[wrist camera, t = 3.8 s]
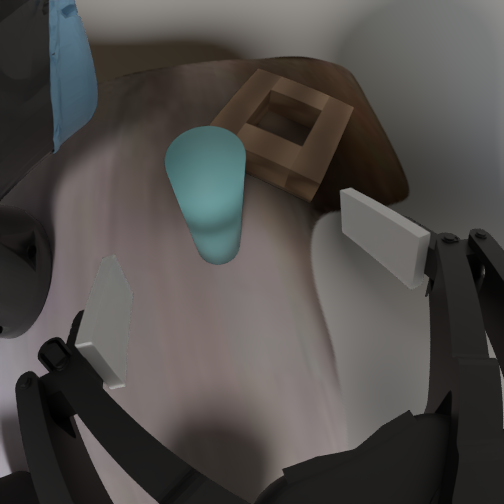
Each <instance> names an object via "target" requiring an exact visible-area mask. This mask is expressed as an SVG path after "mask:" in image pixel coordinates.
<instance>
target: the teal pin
mask: <svg viewBox="0 0 504 504" xmlns="http://www.w3.org/2000/svg"><path fill="white" fill-rule="evenodd" d="M245 161H246V153H245V148H244V146H243V144H242V142H241V140H240V139H239V138H238V137H237V136H236V135H235V134H233V133H232V132H230V131H228V130H226V129H224V128H221V127H216V126H201V127H196V128H193V129H190V130H188V131H186V132H184V133H182V134H181V135H179V136H178V137H177V138H176V139H175V140H174V141H173V142H172V143H171V144H170V146H169V147H168V149H167V152H166V155H165V169H166V172H167V175H168V177H169V180H170V183H171V185H172V188H173V190H174V193H175V195H176V198H177V201H178V203H179V206H180V208H181V211H182V213H183V216H184V218H185V221H186V223H187V226H188V228H189V230H190V233H191V235H192V238H193V240H194V242H195V245H196V247H197V250H198V252H199V254H200V256H201V257H202V258H203V259H204V260H205V261H207V262H209V263H211V264H216V265H220V264H225V263H228V262H229V261H231V260H232V259H233V258H234V257H235V256H236V255H237V253H238V251H239V247H240V234H241V219H242V204H243V189H244V175H245Z"/></svg>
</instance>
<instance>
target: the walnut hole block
mask: <svg viewBox="0 0 504 504" xmlns="http://www.w3.org/2000/svg"><path fill="white" fill-rule="evenodd" d="M353 109H354V107H352V106H350V105H348V104H346V103H344V102H341V101H339V100H337V99H335V98H333V97H331V96H328V95H326V94H324V93H322V92H319V91H317V90H315V89H312V88H310V87H308V86H305V85H303V84H300V83H298V82H295V81H293V80H290V79H287V78H285V77H282V76H279V75H276V74H273V73H271V72H268V71H265V70H262V69H259V68H258V69H257V70H256V72H255V73H254V74H253V75H252V76H251V77H250V78H249V79H248V80H247V81H246V82H245V84H244V85H243V86H242V87H241V88H240V89H239V90H238V91H237V92H236V94H235V95H234V96H233V97H232V98H231V99H230V101H229V102H228V103H227V104H226V105H225V106H224V108H223V109H222V110H221V111H220V112H219V114H218V115H217V116H216V117H215V118H214V120H213V121H212V122H211V123H210V125H209V126H216V127H221V128H224V129H226V130H228V131H230V132H232V133H233V134H235V135H236V136H237V137H238V138H239V139H240V140H241V142H242V144H243V146H244V148H245V153H246V161H245V173H247V174H250V175H252V176H254V177H256V178H258V179H261V180H263V181H265V182H267V183H269V184H271V185H273V186H275V187H278V188H280V189H282V190H284V191H286V192H288V193H290V194H292V195H294V196H296V197H298V198H300V199H302V200H304V201H306V202H308V203H310V202H311V200H312V199H313V197H314V195H315V193H316V191H317V189H318V188H319V186H320V184H321V182H322V180H323V177H324V175H325V173H326V171H327V168H328V166H329V164H330V162H331V159H332V157H333V155H334V153H335V150H336V148H337V146H338V144H339V141H340V139H341V137H342V134H343V132H344V130H345V127H346V125H347V123H348V120H349V118H350V116H351V113H352V111H353Z"/></svg>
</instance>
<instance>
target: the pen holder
mask: <svg viewBox="0 0 504 504" xmlns="http://www.w3.org/2000/svg"><path fill="white" fill-rule="evenodd" d="M0 504H40V502H39V499H38V496H37V493H36V490H35V487H34V484H33V481H32V477H31V474H30V473H27V472H24V471H18V472H15V473H12V474H10V475H7V476H4V477H2V478H0Z"/></svg>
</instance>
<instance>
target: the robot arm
mask: <svg viewBox="0 0 504 504" xmlns="http://www.w3.org/2000/svg"><path fill="white" fill-rule="evenodd" d="M77 13H78V11H77V8H76V4H75V0H0V201H1V200H2V199H3V198H4V196H5V195H6V194H7V193H8V192H9V191H10V190H11V189H12V188H13V187H14V186H15V185H16V184H17V183H18V182H19V181H20V180H21V179H22V178H23V177H24V176H25V175H27V174H28V173H29V172H30V171H31V170H32V169H33V168H34V167H35V166H36V165H37V164H39V163H40V162H41V161H42V160H43V159H44V158H45V157H47V156H48V155H49V154H50V153H51V152H52V153H53V154H54V153H56V152H57V151H58V150H59V148H60V145H61V144H62V143H64V142H65V141H66V140H67V139H68V138H69V137H71V136H72V135H73V134H74V133H75V132H77V131H78V130H79V129H80V128H82V127H83V126H84V125H85V124H87V123H88V122H89V120H90V119H91V118H92V116H93V114H94V112H95V110H96V107H97V101H98V87H97V80H96V74H95V69H94V64H93V59H92V56H91V51H90V47H89V44H88V40H87V36H86V32H85V29H84V26H83V23H82V20H81V17H80V16H78V15H77ZM340 198H341V217H342V232H343V233H344V234H345V235H347V236H348V237H349V238H351V239H352V240H353V241H354V242H355V243H357V244H358V245H359V246H360V247H362V248H363V249H364V250H365V251H366V252H368V253H369V254H370V255H372V256H373V257H374V258H375V259H376V260H377V261H378V262H380V263H381V264H382V265H383V266H384V267H385V268H387V269H388V270H389V271H390V272H391V273H392V274H394V275H395V276H396V277H397V278H398V279H399V280H401V281H402V282H403V283H404V284H405V285H406V286H407V287H409V289H411V290H412V289H414V288H416V287H418V286H420V285H421V284H422V282H423V277H424V274H426V275H427V276H428V277H429V281H428V286H427V290H426V295H425V297H427V296H428V293H429V307H430V338H431V339H430V340H431V341H430V376H429V392H428V401H427V406H426V409H425V412H424V414H419V415H415V416H413V415H412V413H411V412H410V410H408V411H407V412H405V413H403V414H402V415H400V416H398V417H397V418H395V419H393V420H392V421H390V422H388V423H386V424H384V425H383V426H381V427H380V428H379V429H378V430H377V431H376V432H375V433H374V434H373V435H372V436H370V437H369V438H368V439H367V440H366V441H364V442H363V443H362V444H361V445H359V446H358V447H357V448H355V449H353V450H349V451H344V452H340V453H335V454H329V455H324V456H318V457H315V458H312V459H309V460H307V461H304V462H301V463H299V464H296V465H293V466H290V467H287V468H284V469H282V470H283V473H284V475H285V476H282V477H280V478H279V479H277V480H276V481H274V482H273V483H272V484H270V485H269V486H268V487H267V488H266V489H265V490H264V491H263V492H262V493H261V494H260V496H259V497H258V498H257V500H256V501H255V503H254V504H504V429H503V401H502V387H501V377H500V368H501V371H502V374H503V377H504V250H503V249H502V248H501V247H500V245H499V244H498V243H497V242H496V241H495V239H494V238H493V237H492V236H491V235H490V234H489V233H488V232H486V231H484V230H483V229H482V230H481V229H472V230H470V233H469V238H468V239H464V240H460V238H459V237H457V236H456V235H453V234H451V233H440V234H436V233H434V232H433V231H431V230H429V229H428V228H426V227H424V226H423V225H421V224H419V223H418V222H416V221H414V220H413V219H411V218H409V217H407V216H403V215H400V214H398V213H396V212H395V211H393V210H391V209H389V208H388V207H386V206H384V205H382V204H380V203H379V202H377V201H375V200H373V199H371V198H369V197H367V196H366V195H364V194H362V193H360V192H358V191H356V190H354V189H352V188H348V189H343V190H340ZM484 268H485V275H484V274H483V272H484ZM50 277H51V252H50V246H49V241H48V238H47V235H46V233H45V230H44V229H43V227H42V225H41V224H40V223H39V222H38V221H37V220H36V219H35V218H34V217H32V216H31V215H30V214H28V213H27V212H25V211H24V210H22V209H19V208H16V207H10V206H4V205H0V338H7V339H10V338H15V337H18V336H20V335H22V334H23V333H25V332H26V331H27V330H28V329H29V328H30V327H31V326H32V325H33V324H34V322H35V321H36V319H37V318H38V316H39V314H40V312H41V310H42V308H43V305H44V303H45V300H46V297H47V293H48V289H49V284H50ZM132 302H133V292H132V290H131V288H130V286H129V284H128V282H127V280H126V278H125V276H124V274H123V271H122V269H121V267H120V265H119V263H118V260H117V258H116V256H115V254H113V255H110V256H107V257H104V258H102V261H101V264H100V266H99V269H98V272H97V275H96V277H95V280H94V283H93V286H92V289H91V292H90V295H89V298H88V301H87V304H86V307H85V310H82V311H79V313H78V314H77V315H76V317H75V318H74V320H73V323H72V326H71V327H72V328H71V330H70V335H69V336H68V340H67V343H66V344H65V343H64V341H63V340H62V339H61V338H59V337H54V338H51V339H49V340H48V341H46V342H45V343H44V344H43V345H42V346H41V348H40V350H39V352H38V360H39V361H40V362H41V363H42V364H43V366H44V367H45V368H46V369H47V370H48V371H49V373H47V374H45V375H43V376H41V377H40V378H39V377H38V376H37V375H36V374H35V373H34V372H32V371H28V372H26V373H24V374H23V375H21V376H20V378H19V379H18V381H17V383H16V387H15V392H16V402H17V410H18V417H19V424H20V430H21V435H22V440H23V445H24V450H25V454H26V458H27V462H28V466H29V470H30V474H31V477H32V481H33V484H34V487H35V490H36V493H37V496H38V499H39V502H40V504H114V503H113V502H112V500H111V498H110V496H109V495H108V493H107V491H106V489H105V487H104V485H103V483H102V481H101V479H100V477H99V475H98V473H97V471H96V469H95V467H94V465H93V463H92V461H91V458H90V456H89V454H88V452H87V449H86V447H85V445H84V442H83V440H82V437H81V435H80V432H79V430H78V427H77V424H76V421H75V419H74V416H73V415H75V414H78V416H79V417H80V418H81V420H82V421H83V422H84V424H85V425H86V426H87V428H88V429H89V430H90V432H91V433H92V434H93V435H94V437H95V438H96V439H97V440H98V441H99V443H100V444H101V445H102V446H103V447H104V448H105V450H106V451H107V452H108V453H109V454H110V455H111V456H112V458H113V459H114V460H115V461H116V462H117V463H118V464H119V465H120V466H121V467H122V468H123V469H124V470H125V471H126V472H127V474H128V475H129V476H130V477H131V478H132V479H133V480H135V481H136V482H137V483H138V484H139V485H140V486H141V487H142V488H143V489H144V490H145V491H146V492H147V493H148V494H149V495H150V496H152V497H153V498H154V499H155V500H156V501H157V502H158V503H159V504H250V503H248V502H247V501H245V500H243V499H241V498H239V497H238V496H236V495H234V494H233V493H231V492H229V491H228V490H226V489H224V488H223V487H221V486H220V485H218V484H216V483H215V482H213V481H212V480H210V479H209V478H207V477H206V476H204V475H203V474H201V473H200V472H198V471H197V470H195V469H194V468H192V467H191V466H190V465H188V464H187V463H186V462H184V461H183V460H182V459H180V458H179V457H178V456H176V455H175V454H174V453H172V452H171V451H170V450H169V449H167V448H166V447H165V446H164V445H162V444H161V443H160V442H159V441H158V440H156V439H155V438H154V437H153V436H152V435H151V434H149V433H148V432H147V431H146V430H145V429H144V428H143V427H141V426H140V425H139V424H138V423H137V422H136V421H135V420H134V419H133V418H132V417H131V416H130V415H129V414H127V413H126V412H125V411H124V410H123V409H122V408H121V407H120V406H119V405H118V404H117V403H116V402H115V401H114V400H113V399H112V398H111V397H110V396H109V394H108V393H107V392H106V391H105V390H104V389H103V381H104V382H105V384H106V385H107V386H108V387H109V388H110V389H114V388H119V387H124V386H126V368H127V352H128V340H129V329H130V319H131V310H132ZM485 331H486V333H487V335H488V337H489V340H490V342H491V345H492V347H493V350H494V352H495V355H496V358H497V359H496V358H489V354H488V346H487V340H486V333H485ZM499 366H500V368H499Z"/></svg>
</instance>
